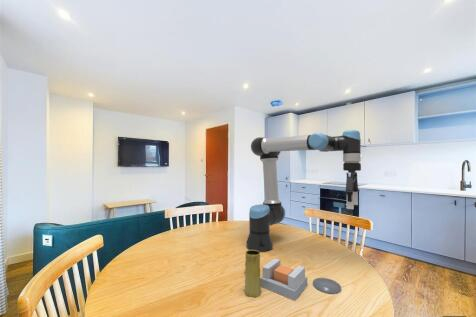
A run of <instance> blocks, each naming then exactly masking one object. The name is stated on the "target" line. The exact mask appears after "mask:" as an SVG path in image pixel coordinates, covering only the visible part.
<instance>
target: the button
mask: <svg viewBox="0 0 476 317" xmlns="http://www.w3.org/2000/svg"><path fill="white" fill-rule="evenodd" d="M294 269H295V268H291V267H287V266H284V265H282V264H280V266H279V267H277V268H276V269H275V270H274V280H276V281H277V282H280V283H283V284H285V285H288V275H289V274H290V273H291V272H292V271H293V270H294Z"/></svg>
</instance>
